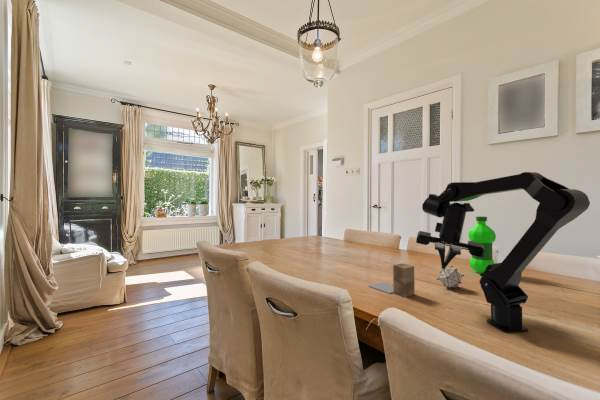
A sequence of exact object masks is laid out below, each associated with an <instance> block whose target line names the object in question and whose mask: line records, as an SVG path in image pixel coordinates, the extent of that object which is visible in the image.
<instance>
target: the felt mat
mask: <svg viewBox="0 0 600 400" xmlns="http://www.w3.org/2000/svg"><path fill="white" fill-rule="evenodd" d="M368 287H369V288H371V289H373V290H377V291H380V292H383V293H387V294H390V295H391V294H394V287H393V285H392V284H389V283H386V282H384V281H381V282H378V283H374V284H370V285H368Z"/></svg>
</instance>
